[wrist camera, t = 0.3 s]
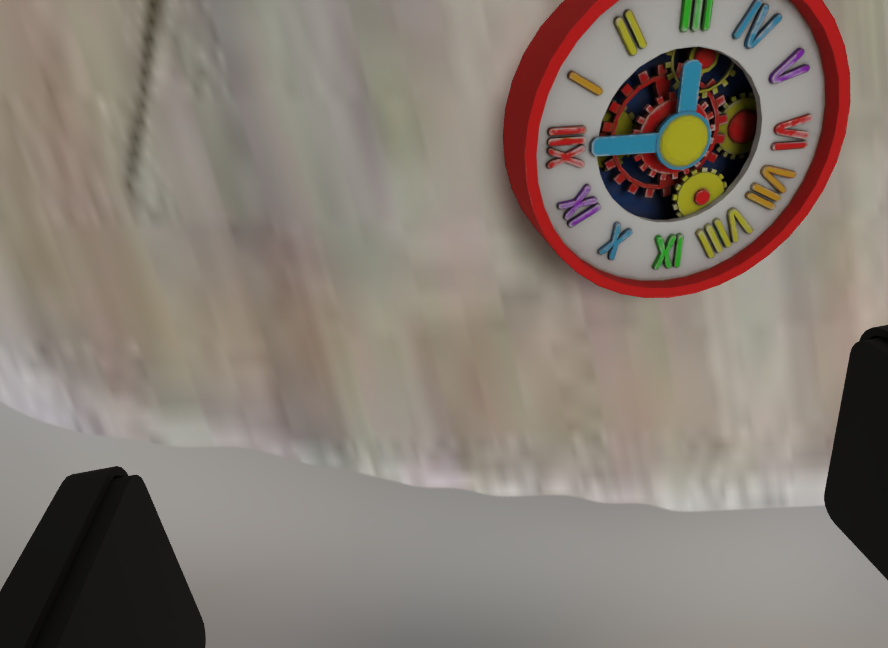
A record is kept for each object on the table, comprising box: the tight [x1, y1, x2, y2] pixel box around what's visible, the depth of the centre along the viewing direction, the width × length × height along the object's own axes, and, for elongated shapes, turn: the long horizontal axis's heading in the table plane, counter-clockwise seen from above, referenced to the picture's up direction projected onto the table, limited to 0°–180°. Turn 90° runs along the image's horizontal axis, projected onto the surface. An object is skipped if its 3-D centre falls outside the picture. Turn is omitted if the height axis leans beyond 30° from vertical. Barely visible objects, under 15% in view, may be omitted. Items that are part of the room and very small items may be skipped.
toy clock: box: [503, 0, 850, 298], centre depth 42 cm, size 20×6×20 cm
